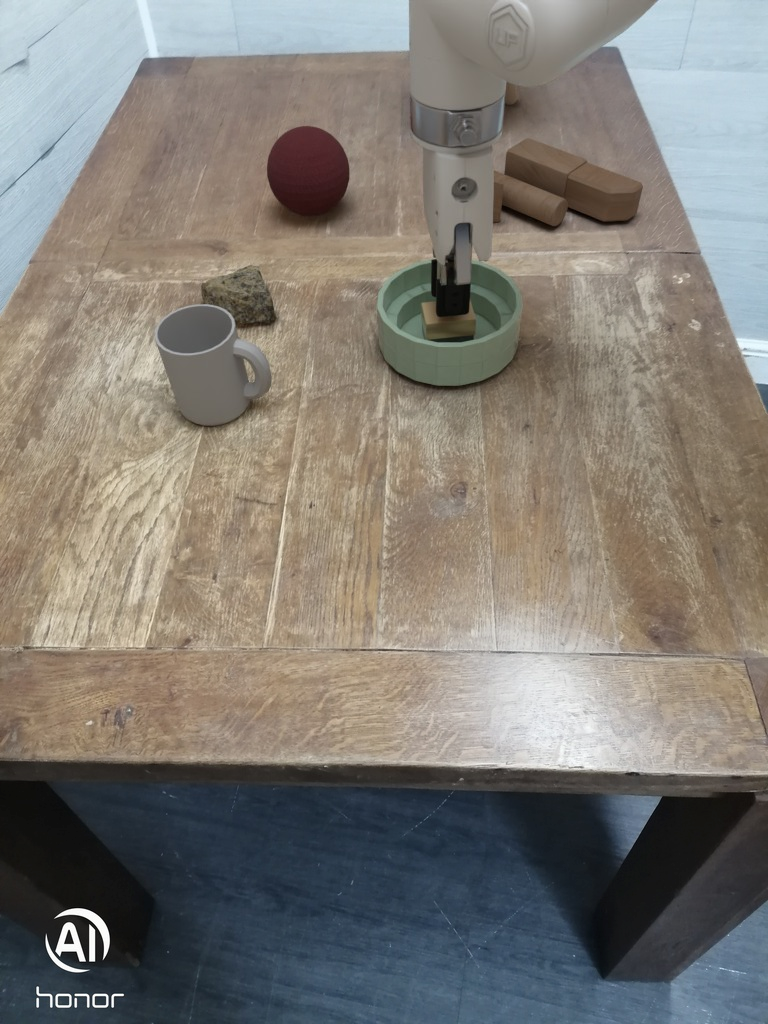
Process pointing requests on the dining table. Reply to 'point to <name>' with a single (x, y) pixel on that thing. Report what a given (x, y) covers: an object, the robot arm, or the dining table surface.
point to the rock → (241, 295)
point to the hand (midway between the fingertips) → (449, 302)
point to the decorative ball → (308, 171)
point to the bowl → (449, 360)
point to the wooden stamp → (446, 322)
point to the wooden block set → (561, 186)
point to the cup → (210, 364)
